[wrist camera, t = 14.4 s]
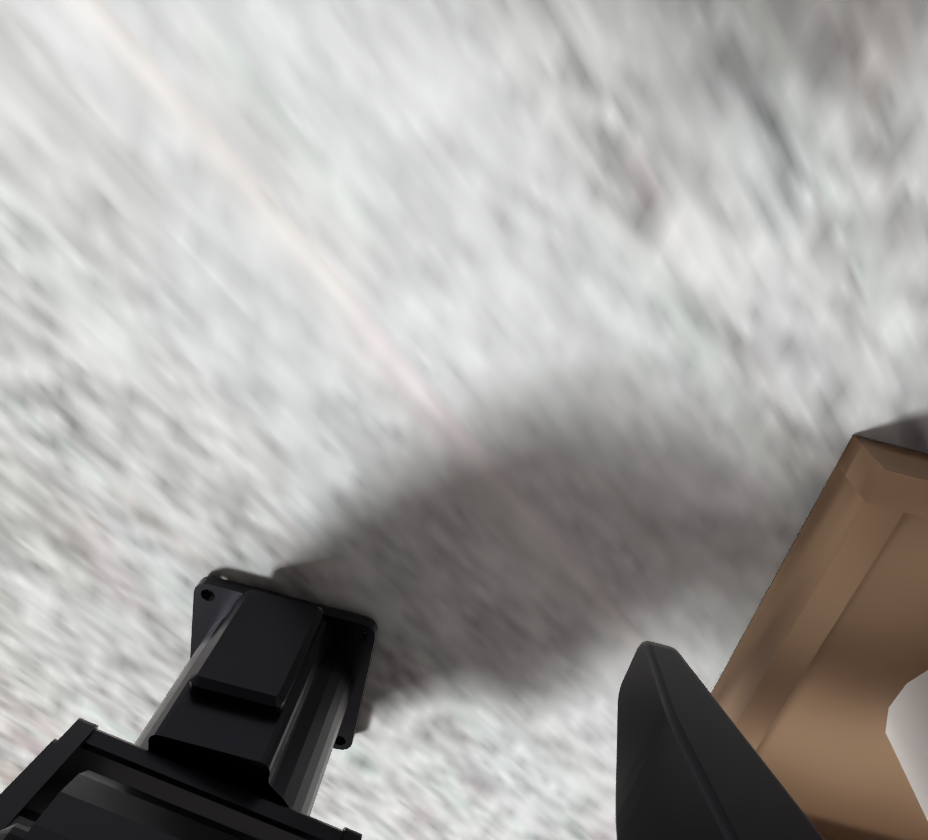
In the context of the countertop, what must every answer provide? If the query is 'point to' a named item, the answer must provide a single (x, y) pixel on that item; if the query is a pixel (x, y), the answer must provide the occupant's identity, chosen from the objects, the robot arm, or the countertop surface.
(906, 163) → the countertop surface
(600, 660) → the countertop surface
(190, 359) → the countertop surface
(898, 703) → the white cylinder
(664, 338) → the countertop surface
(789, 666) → the walnut tray
